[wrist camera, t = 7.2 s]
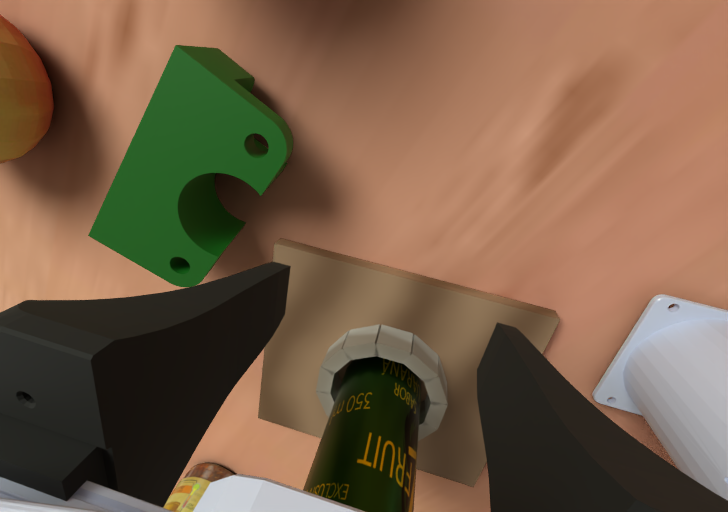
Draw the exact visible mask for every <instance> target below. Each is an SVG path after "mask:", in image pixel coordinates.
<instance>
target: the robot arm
mask: <svg viewBox="0 0 728 512" xmlns="http://www.w3.org/2000/svg"><path fill="white" fill-rule="evenodd" d="M290 268H291V266H288V265H285V264H281V263H277V262H271V263H267V264H264V265H261V266H258V267H255V268H252V269H249V270H246V271H243V272H240V273H237V274H234V275H231V276H228V277H225V278H222V279H218V280H215V281H211V282H208V283H205V284H201V285H197V286H193V287H189V288H184V289H179V290H174V291H169V292H164V293H157V294H149V295H142V296H134V297H125V298H113V299H97V300H27V301H24V302H22V303H20V304H18V305H15V306H13V307H11V308H9V309H7V310H5V311H3V312H1V313H0V512H173V511H170V510H168V509H165V508H163V507H164V506H165V504H166V502H167V500H168V498H169V496H170V494H171V492H172V490H173V489H174V487H175V485H176V483H177V481H178V479H179V478H180V476H181V474H182V472H183V471H184V469H185V467H186V465H187V463H188V462H189V460H190V458H191V456H192V454H193V453H194V451H195V449H196V447H197V446H198V444H199V442H200V441H201V439H202V437H203V436H204V434H205V432H206V430H207V429H208V427H209V425H210V424H211V422H212V420H213V419H214V417H215V415H216V414H217V412H218V411H219V409H220V407H221V406H222V404H223V403H224V401H225V399H226V398H227V396H228V395H229V393H230V392H231V390H232V389H233V388H234V386H235V385H236V383H237V382H238V381H239V380H240V378H241V377H242V376H243V374H244V373H245V372H246V371H247V369H248V368H249V367H250V365H251V364H252V363H253V362H254V360H255V359H256V358H257V356H258V355H259V354H260V353H261V351H262V350H263V349H264V347H265V346H266V345H267V343H268V342H269V341H270V339H271V338H272V337H273V335H274V333H275V331H276V330H277V328H278V326H279V325H280V323H281V321H282V319H283V317H284V315H285V310H286V301H287V293H288V285H289V276H290ZM671 304H675V306H673V307H672V308H668V307H669V306H670V305H671ZM592 395H593V398H594V400H595V401H596V402H598V403H600V404H603V405H607V406H610V407H614V408H617V409H621V410H624V411H628V412H631V413H635V414H638V415H642V416H643V417H644V418H645V420H646V421H647V423H648V424H649V426H650V427H651V429H652V430H653V432H654V433H655V435H656V436H657V438H658V439H659V441H660V442H661V444H662V445H663V447H664V448H665V450H666V451H667V453H668V454H669V456H670V457H671V459H672V460H673V462H674V463H675V465H676V466H677V468H678V469H679V470H678V469H677V468H675V467H674V466H672V465H671V464H670V463H668V462H667V461H665V460H664V459H662V458H661V457H659V456H658V455H656V454H655V453H654V452H652V451H651V450H650V449H648V448H647V447H646V446H644V445H643V444H641V443H640V442H639V441H637V440H636V439H635V438H633V437H632V436H631V435H629V434H628V433H627V432H625V431H624V430H623V429H622V428H620V427H619V426H618V425H616V424H615V423H614V422H613V421H612V420H610V419H609V418H608V417H607V416H606V415H604V414H603V413H602V412H601V411H600V410H599V409H597V408H596V407H595V406H594V405H593V404H592V403H590V402H589V401H588V400H587V399H586V398H585V397H584V396H583V395H582V394H581V393H580V392H579V391H578V390H576V389H575V388H574V387H573V386H572V385H571V384H570V383H569V382H568V381H567V380H566V379H565V378H564V377H563V376H562V375H561V374H560V373H559V372H558V371H557V370H556V369H555V368H554V367H553V366H552V364H551V363H550V362H549V361H548V360H547V359H546V358H545V357H544V356H543V355H542V354H541V353H540V352H539V351H538V349H537V348H536V347H535V346H534V345H533V344H532V343H531V342H530V341H529V340H528V339H527V338H526V337H525V336H524V335H523V333H521V332H520V331H519V330H518V329H517V328H516V327H513V326H509V325H505V324H502V323H498V322H497V324H496V326H495V329H494V331H493V333H492V336H491V338H490V340H489V343H488V345H487V347H486V350H485V352H484V354H483V357H482V359H481V361H480V364H479V366H478V368H477V400H478V407H479V414H480V420H481V426H482V433H483V439H484V445H485V452H486V458H487V465H488V474H489V487H490V506H491V512H728V310H724V309H720V308H716V307H713V306H709V305H705V304H701V303H697V302H693V301H689V300H685V299H681V298H677V297H673V296H669V295H664V294H660V295H657V296H655V297H653V298H652V299H651V301H650V302H649V304H648V305H647V307H646V309H645V310H644V312H643V313H642V315H641V317H640V318H639V320H638V321H637V323H636V324H635V326H634V328H633V329H632V331H631V332H630V334H629V336H628V337H627V339H626V340H625V342H624V344H623V345H622V347H621V348H620V350H619V351H618V353H617V355H616V356H615V358H614V359H613V361H612V363H611V364H610V366H609V367H608V369H607V370H606V372H605V374H604V375H603V377H602V378H601V380H600V382H599V383H598V385H597V386H596V388H595V390H594V391H593V394H592ZM610 397H613V398H612V399H608V398H610ZM193 512H365V511H362V510H359V509H356V508H353V507H350V506H347V505H344V504H341V503H338V502H336V501H333V500H330V499H327V498H324V497H321V496H318V495H315V494H312V493H309V492H306V491H303V490H300V489H297V488H294V487H291V486H288V485H285V484H282V483H280V482H277V481H274V480H271V479H268V478H263V477H256V476H250V475H243V474H236V475H232V476H229V477H226V478H223V479H220V480H217V481H214V482H211V483H210V484H209V486H208V488H207V489H206V491H205V492H204V494H203V496H202V497H201V499H200V501H199V502H198V504H197V505H196V507H195V509H194V510H193Z"/></svg>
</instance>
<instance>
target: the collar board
mask: <svg viewBox="0 0 728 512" xmlns="http://www.w3.org/2000/svg"><path fill="white" fill-rule="evenodd" d="M273 262H277V263H281V264H285V265H288V266H291V268H290V276H289V285H288V293H287V301H286V310H285V315H284V317H283V319H282V321H281V323H280V325H279V326H278V328H277V330H276V331H275V333H274V335H273V337H272V338H271V339H270V341H269V342H268V343H267V345H266V346H265V349H264V360H263V371H262V381H261V392H260V402H259V413H258V418H260V419H263V420H266V421H269V422H272V423H275V424H279V425H282V426H285V427H288V428H291V429H294V430H297V431H300V432H303V433H307V434H310V435H313V436H316V437H319V438H322V436H323V433H324V430H325V428H326V425H327V422H328V419H329V416H330V414H331V411H332V408H333V405H334V403H335V400H336V397H337V394H338V391H339V389H340V386H341V383H342V380H343V377H344V375H345V372H346V369H347V367H348V366H349V365H350V363H351V362H352V361H353V360H354V359H361V358H368V357H374V356H378V357H381V358H385V359H388V360H391V361H395V362H398V363H402V364H404V365H405V366H407V367H408V368H409V369H410V370H411V371H412V372H413V373H415V374H416V375H417V376H418V377H419V379H420V382H421V403H420V418H419V433H418V449H417V464H416V469H418V470H422V471H425V472H428V473H431V474H434V475H437V476H440V477H443V478H446V479H450V480H453V481H456V482H459V483H462V484H465V485H468V486H471V487H474V485H475V483H476V481H477V480H478V478H479V476H480V474H481V472H482V470H483V468H484V466H485V464H486V462H487V458H486V452H485V445H484V439H483V433H482V426H481V420H480V414H479V407H478V400H477V368H478V366H479V364H480V361H481V359H482V357H483V354H484V352H485V350H486V347H487V345H488V343H489V340H490V338H491V336H492V333H493V331H494V329H495V326H496V324H497V322H498V323H502V324H505V325H509V326H513V327H516V328H517V329H518V330H519V331H520V332H521V333H523V335H524V336H525V337H526V338H527V339H528V340H529V341H530V342H531V343H532V344H533V345H534V346H535V347H536V348H537V349H538V351H539V352H540V353H541V354H543V352H544V350H545V348H546V346H547V344H548V342H549V340H550V338H551V336H552V334H553V333H554V331H555V329H556V327H557V325H558V323H559V321H560V318H559V317H558V315H557V313H556V311H554V310H550V309H547V308H543V307H539V306H535V305H532V304H528V303H524V302H520V301H516V300H513V299H509V298H505V297H501V296H497V295H494V294H490V293H486V292H482V291H479V290H475V289H471V288H467V287H463V286H460V285H456V284H452V283H448V282H445V281H441V280H437V279H433V278H429V277H426V276H422V275H418V274H414V273H410V272H407V271H403V270H399V269H395V268H392V267H388V266H384V265H380V264H376V263H373V262H369V261H365V260H361V259H358V258H354V257H350V256H346V255H342V254H339V253H335V252H331V251H327V250H323V249H320V248H316V247H312V246H308V245H305V244H301V243H297V242H293V241H289V240H286V239H282V238H281V239H279V240H278V241H277V242H276V243H274V254H273Z"/></svg>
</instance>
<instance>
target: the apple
mask: <svg viewBox="0 0 728 512" xmlns="http://www.w3.org/2000/svg"><path fill="white" fill-rule="evenodd" d="M53 110H54V103H53V95H52V88H51V82H50V80H49V78H48V75H47V73H46V70H45V68H44V66H43V63H42V61H41V59H40V57H39V56H38V55H37V53H36V52H35V50H34V49H33V48H32V46H31V45H30V44H29V42H28V41H27V40H26V38H25V37H24V36H23V35H22V33H21V32H20V31H19V30H18V29H17V28H16V27H15V26H14V25H13V24H11V23H10V22H9V21H8V20H6V19H5V18H4V17H3V16H1V15H0V163H3V162H7V161H10V160H13V159H16V158H19V157H21V156H23V155H24V154H26V153H27V152H28V151H30V150H31V149H33V148H34V147H35V146H36V145H37V144H38V142H39V141H40V140H41V139H42V137H43V136H44V135H45V134H46V133H47V131H48V129H49V127H50V124H51V119H52V114H53Z"/></svg>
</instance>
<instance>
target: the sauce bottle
mask: <svg viewBox="0 0 728 512" xmlns="http://www.w3.org/2000/svg"><path fill="white" fill-rule="evenodd" d="M232 475H234V474H233V473H232V472H230V471H229V470H227V469H225V468H224V467H222V466H220V465H218V464H213V463H212V464H211V463H202V464H198V465H196V466H194V467H192V468H191V470H190V471H189V472H188V473H187V474H186V476H185V477H184V479H182V480H181V481H180V482H179V483H178V485H177V486H176V488H175V489H174V491H173V492H172V494H171V495H170V497H169V498H168V500H167V502H166V504H165V506H164V507H163V508H165V509H168V510H170V511H173V512H193V510H194V509H195V507H196V505H197V504H198V502H199V501H200V499H201V497H202V496H203V494H204V492H205V491H206V489H207V488H208V486H209V484H210V483H211V482H214V481H217V480H220V479H223V478H226V477H229V476H232Z"/></svg>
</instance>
